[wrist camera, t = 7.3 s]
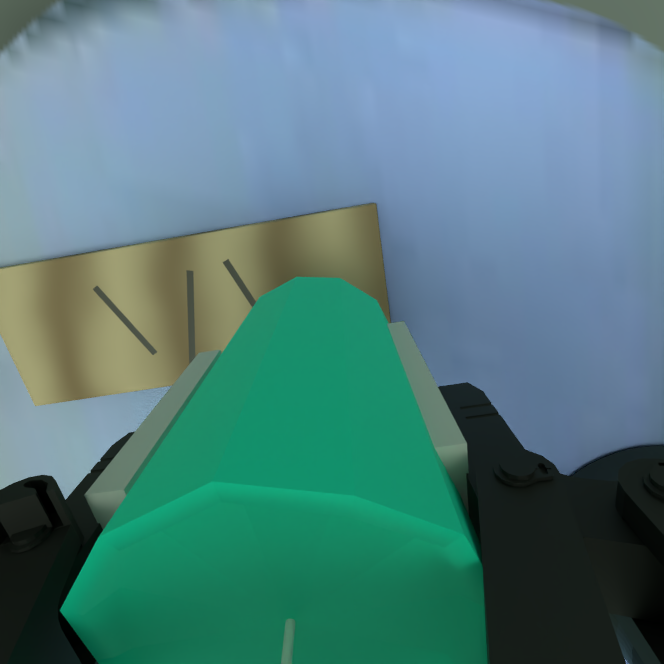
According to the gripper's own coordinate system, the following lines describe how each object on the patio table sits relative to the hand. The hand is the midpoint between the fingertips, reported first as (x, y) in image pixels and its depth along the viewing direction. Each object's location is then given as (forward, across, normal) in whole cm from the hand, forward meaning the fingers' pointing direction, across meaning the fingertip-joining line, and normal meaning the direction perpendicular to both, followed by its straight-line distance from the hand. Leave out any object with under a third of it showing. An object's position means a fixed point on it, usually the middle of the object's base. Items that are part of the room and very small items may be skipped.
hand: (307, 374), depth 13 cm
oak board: (+12, +8, 0) cm, 15 cm away
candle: (+2, 0, 0) cm, 2 cm away
